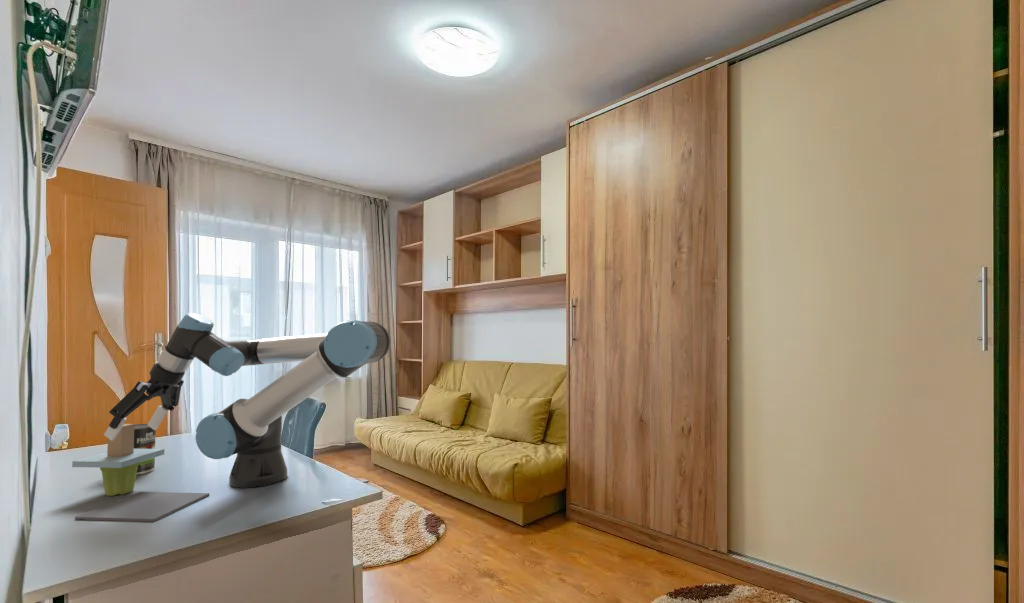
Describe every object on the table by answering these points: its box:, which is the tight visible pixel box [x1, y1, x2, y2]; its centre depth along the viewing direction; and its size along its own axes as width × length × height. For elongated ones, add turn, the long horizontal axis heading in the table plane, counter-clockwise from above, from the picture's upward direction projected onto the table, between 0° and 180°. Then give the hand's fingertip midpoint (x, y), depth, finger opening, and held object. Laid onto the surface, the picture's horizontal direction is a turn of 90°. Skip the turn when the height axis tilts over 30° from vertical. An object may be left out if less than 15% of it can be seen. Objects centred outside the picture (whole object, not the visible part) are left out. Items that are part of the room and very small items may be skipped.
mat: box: [74, 491, 210, 523], centre depth 124 cm, size 20×18×1 cm
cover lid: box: [71, 423, 165, 469], centre depth 136 cm, size 14×14×10 cm
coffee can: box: [134, 423, 157, 476], centre depth 156 cm, size 10×10×14 cm
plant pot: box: [99, 462, 139, 497], centre depth 136 cm, size 9×9×9 cm
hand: (131, 432), depth 136 cm, fingers open, 13 cm apart
